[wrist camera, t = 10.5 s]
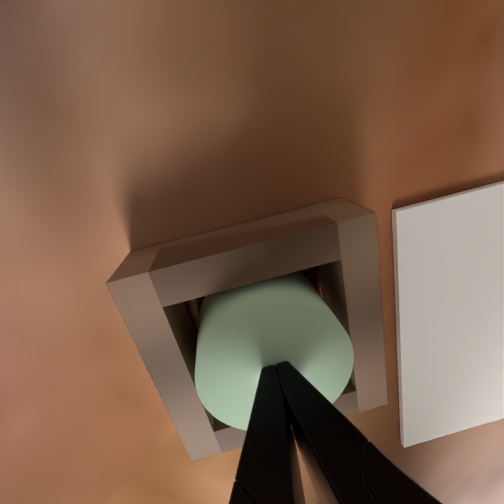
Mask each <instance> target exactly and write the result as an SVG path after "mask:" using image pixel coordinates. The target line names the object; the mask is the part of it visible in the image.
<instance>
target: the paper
mask: <svg viewBox="0 0 504 504" xmlns="http://www.w3.org/2000/svg"><path fill="white" fill-rule="evenodd" d="M392 233H393V259H394V284H395V310H396V335H397V361H398V387H399V412H400V438H401V444H402V446H403V447H404V448H405V447H409V446H412V445H415V444H419V443H422V442H425V441H429V440H432V439H435V438H439V437H442V436H445V435H449V434H452V433H455V432H459V431H462V430H465V429H469V428H472V427H475V426H479V425H482V424H485V423H489V422H492V421H495V420H499V419H502V418H504V181H500V182H496V183H492V184H489V185H485V186H481V187H477V188H473V189H470V190H466V191H462V192H458V193H454V194H451V195H447V196H443V197H439V198H435V199H432V200H428V201H424V202H420V203H416V204H412V205H409V206H405V207H401V208H397V209H393V210H392Z"/></svg>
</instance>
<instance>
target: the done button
mask: <svg viewBox="0 0 504 504" xmlns="http://www.w3.org/2000/svg"><path fill="white" fill-rule="evenodd" d="M283 361H288V362H290V363H291V364H292V365H293V366H294V367H295V368H296V369H297V370H298V371H299V372H300V373H301V374H302V375H303V376H304V377H305V378H306V379H307V380H308V381H309V382H310V383H311V384H312V385H313V386H314V387H315V388H316V389H317V390H318V391H319V392H320V393H322V394H323V395H324V396H325V397H326V398H327V399H328V400H329V401H330V402H331V403H332V404H333V403H334V402H335V400H336V399H337V398H338V397H339V396H340V394H341V393H342V392H343V390H344V389H345V387H346V385H347V383H348V381H349V379H350V376H351V373H352V369H353V363H354V352H353V347H352V343H351V340H350V338H349V336H348V334H347V332H346V331H345V329H344V328H343V326H342V325H341V323H340V322H339V321H338V319H337V318H336V317H335V315H334V314H333V312H332V311H331V310H330V308H329V307H328V305H327V304H326V303H325V301H324V300H323V299H322V297H321V296H320V294H319V293H318V292H317V290H316V289H315V287H314V286H313V285H312V283H311V282H310V281H309V280H308V279H307V278H306V277H305V276H304V275H303V274H302V273H300V272H299V271H296V272H293V273H289V274H285V275H281V276H278V277H274V278H270V279H266V280H263V281H259V282H255V283H251V284H248V285H244V286H240V287H237V288H233V289H229V290H225V291H222V292H218V293H214V294H210V295H207V296H205V298H204V300H203V302H202V305H201V309H200V314H199V325H198V338H197V352H196V365H195V386H196V391H197V394H198V397H199V398H200V400H201V402H202V404H203V405H204V407H205V408H206V409H207V410H208V411H209V412H210V413H211V414H212V415H213V416H214V417H215V418H217V419H218V420H219V421H221V422H223V423H225V424H227V425H229V426H232V427H234V428H238V429H241V430H246V431H247V427H248V423H249V418H250V414H251V410H252V406H253V402H254V398H255V393H256V389H257V385H258V381H259V377H260V373H261V369H262V368H263V367H265V366H269V365H276V363H280V362H283ZM275 368H276V367H275Z"/></svg>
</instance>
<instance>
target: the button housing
mask: <svg viewBox="0 0 504 504" xmlns="http://www.w3.org/2000/svg"><path fill="white" fill-rule="evenodd" d="M315 266H319V272H320V279H321V285H322V292H323V298H324V301H325V303H326V304H327V305H328V307H329V308H330V310H331V311H332V312H333V314H334V315H335V317H336V318H337V319H338V321H339V322H340V323H341V325H342V326H343V328H344V329H345V331H346V332H347V334H348V336H349V338H350V340H351V343H352V347H353V352H354V363H353V369H352V373H351V376H350V379H349V381H348V383H347V385H346V387H345V389H344V390H343V392H342V393H341V394H340V396H339V397H338V398H337V399H336V400H335V402H334V403H333V405H334V406H335V407H336V408H337V409H338V410H339V411H340V412H341V413H342V414H343V415H344V416H349V415H352V414H356V413H359V412H363V411H366V410H369V409H373V408H376V407H380V406H383V405H387V404H388V399H387V382H386V366H385V349H384V333H383V316H382V300H381V283H380V266H379V250H378V233H377V217H376V212H374V211H372V210H369V209H367V208H364V207H362V206H359V205H357V204H354V203H352V202H350V201H347V200H345V199H342V198H337V199H333V200H329V201H325V202H322V203H318V204H314V205H310V206H306V207H302V208H298V209H294V210H291V211H287V212H283V213H279V214H275V215H271V216H267V217H264V218H260V219H256V220H252V221H248V222H244V223H240V224H236V225H233V226H229V227H225V228H221V229H217V230H213V231H209V232H206V233H202V234H198V235H194V236H190V237H186V238H182V239H179V240H175V241H171V242H167V243H163V244H159V245H155V246H151V247H148V248H144V249H140V250H136V251H132V252H130V253H129V254H128V255H127V257H126V258H125V259H124V260H123V262H122V263H121V264H120V266H119V267H118V268H117V269H116V271H115V272H114V273H113V275H112V276H111V277H110V279H109V280H108V281H107V282H106V285H107V287H108V289H109V291H110V293H111V295H112V297H113V299H114V301H115V303H116V305H117V307H118V309H119V311H120V314H121V316H122V318H123V320H124V322H125V324H126V326H127V328H128V330H129V332H130V334H131V336H132V338H133V341H134V343H135V345H136V347H137V349H138V351H139V353H140V355H141V357H142V359H143V361H144V363H145V365H146V367H147V370H148V372H149V374H150V376H151V378H152V380H153V382H154V384H155V386H156V388H157V390H158V392H159V394H160V397H161V399H162V401H163V403H164V405H165V407H166V409H167V411H168V413H169V415H170V417H171V419H172V421H173V423H174V426H175V428H176V430H177V432H178V434H179V436H180V438H181V440H182V442H183V444H184V446H185V448H186V450H187V453H188V455H189V457H190V459H191V461H195V460H198V459H202V458H205V457H209V456H212V455H215V454H219V453H222V452H226V451H229V450H233V449H236V448H239V447H243V443H244V439H245V435H246V430H241V429H238V428H234V427H232V426H229V425H227V424H225V423H223V422H221V421H219V420H218V419H217V418H215V417H214V416H213V415H212V414H211V413H210V412H209V411H208V410H207V409H206V408H205V407H204V405H203V404H202V402H201V400H200V398H199V397H198V394H197V391H196V386H195V365H196V352H197V335H196V332H195V330H194V327H193V324H192V322H191V319H190V316H189V314H188V311H187V308H186V306H185V303H184V301H188V300H192V299H196V298H199V297H203V296H207V295H210V294H214V293H218V292H222V291H225V290H229V289H233V288H237V287H240V286H244V285H248V284H251V283H255V282H259V281H263V280H266V279H270V278H274V277H278V276H281V275H285V274H289V273H293V272H296V271H300V270H304V269H307V268H311V267H315ZM292 431H293V430H292Z"/></svg>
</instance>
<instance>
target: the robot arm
mask: <svg viewBox="0 0 504 504" xmlns="http://www.w3.org/2000/svg"><path fill="white" fill-rule="evenodd" d="M275 367H276V368H275ZM292 430H293V431H292ZM293 434H294V435H293ZM294 437H295V439H294ZM295 440H296V443H297V446H298V448H299V451H300V454H301V456H302V459H303V461H304V464H305V466H306V469H307V471H308V474H309V476H310V479H311V481H312V484H313V486H314V489H315V491H316V494H317V496H318V499H319V501H320V504H442V503H441V502H440V501H439V500H437V499H436V498H435V497H434V496H432V495H431V494H430V493H429V492H427V491H426V490H425V489H424V488H422V487H421V486H420V485H419V484H418V483H416V482H415V481H414V480H413V479H412V478H410V477H409V476H408V475H407V474H406V473H404V472H403V471H402V470H401V469H400V468H399V467H398V466H397V465H395V464H394V463H393V462H392V461H391V460H390V459H389V458H388V457H387V456H386V455H385V454H384V453H382V452H381V451H380V450H379V449H378V448H377V447H376V446H375V445H374V444H373V443H372V442H371V441H369V440H368V438H367V437H366V436H365V435H364V434H363V433H362V432H361V431H360V430H359V429H358V428H357V427H355V426H354V425H353V424H352V423H351V422H350V421H349V420H348V419H347V418H346V417H345V416H344V415H343V414H342V413H341V412H340V411H339V410H338V409H337V408H336V407H335V406H334V405H333V404H332V403H331V402H330V401H329V400H328V399H327V398H326V397H325V396H324V395H323V394H322V393H320V392H319V391H318V390H317V389H316V388H315V387H314V386H313V385H312V384H311V383H310V382H309V381H308V380H307V379H306V378H305V377H304V376H303V375H302V374H301V373H300V372H299V371H298V370H297V369H296V368H295V367H294V366H293V365H292V364H291V363H290V362H288V361H283V362H280V363H276V365H269V366H265V367H263V368H262V369H261V373H260V377H259V381H258V385H257V389H256V393H255V398H254V402H253V406H252V410H251V414H250V418H249V423H248V427H247V431H246V435H245V439H244V443H243V448H242V452H241V456H240V460H239V464H238V468H237V473H236V477H235V480H236V481H235V482H234V484H233V489H232V493H231V497H230V501H229V504H305V498H304V492H303V485H302V479H301V473H300V467H299V461H298V455H297V449H296V443H295Z"/></svg>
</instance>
